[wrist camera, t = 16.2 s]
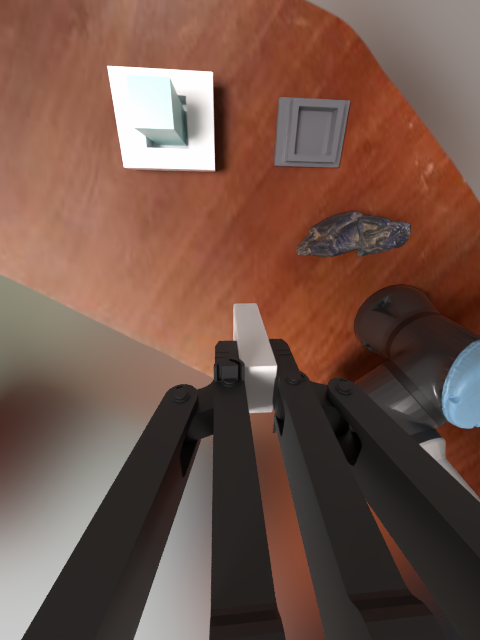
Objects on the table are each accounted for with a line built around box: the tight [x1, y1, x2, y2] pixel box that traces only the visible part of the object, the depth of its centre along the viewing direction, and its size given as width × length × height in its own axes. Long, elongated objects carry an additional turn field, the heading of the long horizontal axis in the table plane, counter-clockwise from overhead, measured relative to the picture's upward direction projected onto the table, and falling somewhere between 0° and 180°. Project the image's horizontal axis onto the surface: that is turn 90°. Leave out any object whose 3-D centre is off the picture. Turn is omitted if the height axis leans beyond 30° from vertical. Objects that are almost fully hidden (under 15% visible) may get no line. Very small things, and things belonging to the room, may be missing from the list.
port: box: [107, 66, 215, 172], centre depth 34 cm, size 12×10×5 cm
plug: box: [126, 75, 187, 146], centre depth 30 cm, size 4×4×12 cm
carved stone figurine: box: [296, 212, 411, 257], centre depth 38 cm, size 6×12×15 cm, turn 118°
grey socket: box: [273, 97, 350, 168], centre depth 37 cm, size 10×8×3 cm
